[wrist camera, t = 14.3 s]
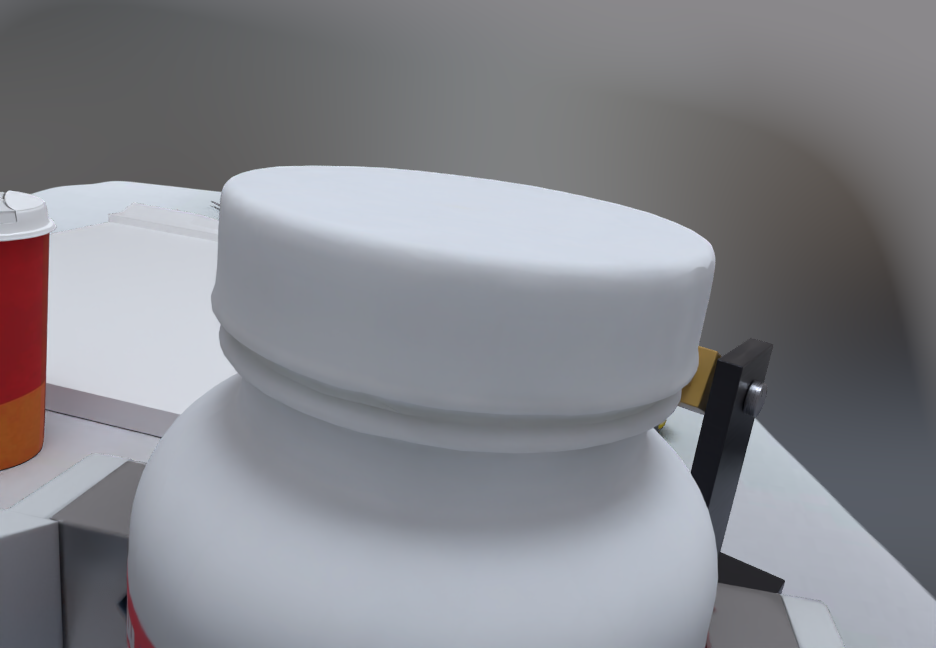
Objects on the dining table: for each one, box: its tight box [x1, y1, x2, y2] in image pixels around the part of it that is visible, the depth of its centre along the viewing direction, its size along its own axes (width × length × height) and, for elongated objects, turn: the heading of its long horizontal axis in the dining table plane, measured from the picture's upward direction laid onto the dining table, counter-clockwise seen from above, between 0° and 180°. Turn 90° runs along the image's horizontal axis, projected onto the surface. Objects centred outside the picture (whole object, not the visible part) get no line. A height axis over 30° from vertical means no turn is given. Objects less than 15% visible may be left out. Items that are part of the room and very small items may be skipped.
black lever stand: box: [654, 338, 785, 594], centre depth 34 cm, size 12×10×14 cm
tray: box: [45, 202, 237, 437], centre depth 69 cm, size 45×45×4 cm
